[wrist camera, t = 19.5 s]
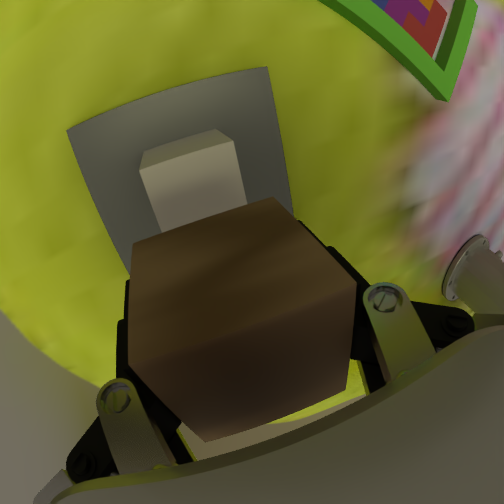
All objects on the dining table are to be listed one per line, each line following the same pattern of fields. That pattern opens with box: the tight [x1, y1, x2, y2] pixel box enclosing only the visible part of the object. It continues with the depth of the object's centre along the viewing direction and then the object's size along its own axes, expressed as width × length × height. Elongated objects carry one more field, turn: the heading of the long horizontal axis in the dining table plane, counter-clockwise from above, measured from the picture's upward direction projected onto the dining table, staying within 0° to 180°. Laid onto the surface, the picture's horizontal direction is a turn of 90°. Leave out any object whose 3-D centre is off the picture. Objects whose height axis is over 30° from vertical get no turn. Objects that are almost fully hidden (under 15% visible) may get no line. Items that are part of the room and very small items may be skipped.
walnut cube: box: [128, 196, 357, 442], centre depth 9 cm, size 5×5×5 cm
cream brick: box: [139, 129, 247, 233], centre depth 18 cm, size 5×7×5 cm
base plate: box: [66, 66, 294, 275], centre depth 20 cm, size 14×14×1 cm
